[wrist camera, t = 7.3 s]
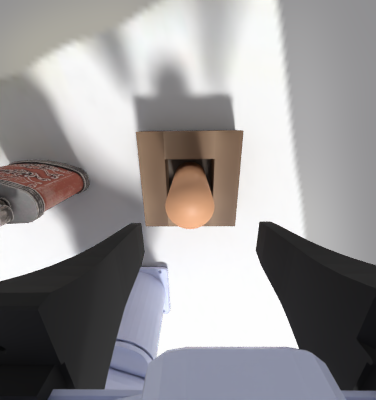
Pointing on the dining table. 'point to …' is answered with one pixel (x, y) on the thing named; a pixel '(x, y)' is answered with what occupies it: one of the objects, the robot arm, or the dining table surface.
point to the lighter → (36, 188)
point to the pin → (189, 197)
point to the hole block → (190, 152)
